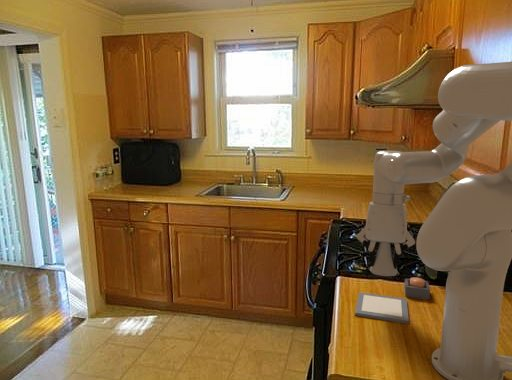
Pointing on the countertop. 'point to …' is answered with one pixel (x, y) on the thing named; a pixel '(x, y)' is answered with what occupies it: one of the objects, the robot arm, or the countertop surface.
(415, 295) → the button housing
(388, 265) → the flask
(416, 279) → the button
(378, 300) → the board
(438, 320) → the countertop surface
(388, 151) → the robot arm
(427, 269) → the vegetable
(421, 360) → the countertop surface
